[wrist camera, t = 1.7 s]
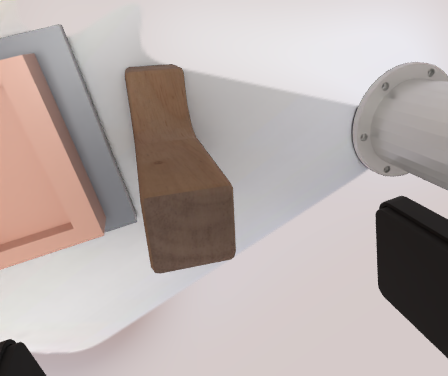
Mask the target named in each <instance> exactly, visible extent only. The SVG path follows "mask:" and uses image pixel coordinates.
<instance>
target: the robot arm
mask: <svg viewBox="0 0 448 376" xmlns="http://www.w3.org/2000/svg"><path fill="white" fill-rule="evenodd" d="M353 143H354V148H355V151H356V153H357V156H358V158H359V159H360V160H361V162H362V163H363V164H364V165H365V166H366V167H367V168H369V169H370V170H372V171H374V172H376V173H378V174H381V175H383V176H401V175H404V174H408V173H411V174H413V175H416V176H418V177H420V178H422V179H424V180H426V181H429V182H431V183H433V184H435V185H437V186H440V187H442V188H444V189H446V190H448V76H447V75H446V74H445V72H444V71H443V70H441V69H440V68H438V67H437V66H434V65H432V64H428V63H420V62H413V63H405V64H402V65H398V66H396V67H394V68H392V69H390V70H388V71H387V72H386V73H384V74H383V75H382V76H380V77H379V78H378V79H377V80H376V81H375V82H374V83H373V84H372V85H371V86H370V88H369V89H368V91H367V92H366V93H365V95H364V96H363V98H362V100H361V102H360V104H359V106H358V109H357V112H356V115H355V118H354V124H353ZM376 239H377V265H378V266H377V267H378V286H379V289H380V291H381V293H382V295H383V296H384V297H385V298H386V299H387V300H388V301H389V302H390V303H391V304H392V305H393V306H394V307H395V308H396V309H397V310H398V311H399V312H400V313H401V314H402V315H403V316H404V317H405V318H407V319H408V320H409V321H410V322H411V323H412V324H413V325H414V326H415V327H416V328H417V329H418V330H419V331H420V332H421V333H422V334H423V335H424V336H425V337H426V338H427V339H428V340H429V341H430V342H431V343H433V344H434V345H435V346H436V347H437V348H438V349H439V350H440V351H441V352H442V353H443V354H444V355H445V356H446V357H447V358H448V219H446V218H444V217H442V216H440V215H439V214H437V213H435V212H433V211H431V210H429V209H427V208H426V207H424V206H422V205H420V204H418V203H416V202H414V201H412V200H411V199H409V198H407V197H404V196H399V197H396V198H394V199H391V200H388V201H386V202H383V203H382V204H381V205H380V207H379V210H378V211H377V212H376ZM0 376H46V374H45V373H44V372H43V370H42V369H41V368H40V366H39V364H38V363H37V361H36V360H35V359H34V357H33V356H32V354H31V353H30V351H29V350H28V349H27V347H26V346H25V345H24V343H22V342H19V343H16V342H15V341H14V340H11V339H9V340H6V341H3V342H0Z"/></svg>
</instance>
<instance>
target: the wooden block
mask: <svg viewBox="0 0 448 376" xmlns="http://www.w3.org/2000/svg"><path fill="white" fill-rule="evenodd" d="M125 81H126V87H127V93H128V100H129V106H130V113H131V120H132V127H133V133H134V141H135V150H136V160H137V171H138V181H139V192H140V202H141V208H142V214H143V220H144V226H145V233H146V239H147V245H148V251H149V257H150V263H151V268H152V269H153V270H154V272H155V273H165V272H170V271H175V270H180V269H185V268H190V267H195V266H200V265H205V264H210V263H215V262H220V261H225V260H230V259H232V258H234V256H235V252H236V246H235V223H234V201H233V187H232V185H231V183H230V182H229V180H228V179H227V178H226V176H225V175H224V174H223V172H222V171H221V170H220V168H219V167H218V166H217V164H216V163H215V162H214V160H213V159H212V158H211V156H210V155H209V154H208V152H207V151H206V150H205V148H204V147H203V146H202V144H201V143H200V142H199V140H198V139H197V138H196V136H195V133H194V131H193V128H192V125H191V120H190V115H189V111H188V106H187V99H186V90H185V82H184V73H183V70H182V68H180V67H177V66H175V65H173V64H169V65H155V66H141V67H129V68H127V69H126V70H125Z"/></svg>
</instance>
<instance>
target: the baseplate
mask: <svg viewBox="0 0 448 376" xmlns="http://www.w3.org/2000/svg"><path fill="white" fill-rule="evenodd" d="M135 222H137V217H136V213H135V210H134V208H133V205H132V203H131V200H130V198H129V195H128V192H127V190H126V187H125V185H124V182H123V180H122V177H121V175H120V172H119V169H118V167H117V164H116V162H115V159H114V157H113V154H112V152H111V149H110V147H109V144H108V141H107V139H106V136H105V134H104V131H103V129H102V126H101V124H100V121H99V118H98V116H97V113H96V111H95V108H94V106H93V103H92V101H91V98H90V96H89V93H88V90H87V88H86V85H85V83H84V80H83V78H82V75H81V73H80V70H79V67H78V65H77V62H76V60H75V57H74V55H73V52H72V50H71V47H70V44H69V42H68V39H67V37H66V34H65V32H64V29H63V27H62V25H59V24H58V25H54V26H50V27H46V28H41V29H37V30H33V31H29V32H25V33H20V34H16V35H12V36H8V37H4V38H0V270H1V269H4V268H7V267H10V266H13V265H16V264H19V263H22V262H25V261H28V260H31V259H34V258H37V257H40V256H43V255H46V254H49V253H52V252H55V251H58V250H61V249H64V248H68V247H71V246H74V245H77V244H80V243H83V242H86V241H89V240H92V239H95V238H98V237H101V236H104V233H105V232H108V231H111V230H114V229H117V228H120V227H123V226H126V225H129V224H132V223H135Z"/></svg>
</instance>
